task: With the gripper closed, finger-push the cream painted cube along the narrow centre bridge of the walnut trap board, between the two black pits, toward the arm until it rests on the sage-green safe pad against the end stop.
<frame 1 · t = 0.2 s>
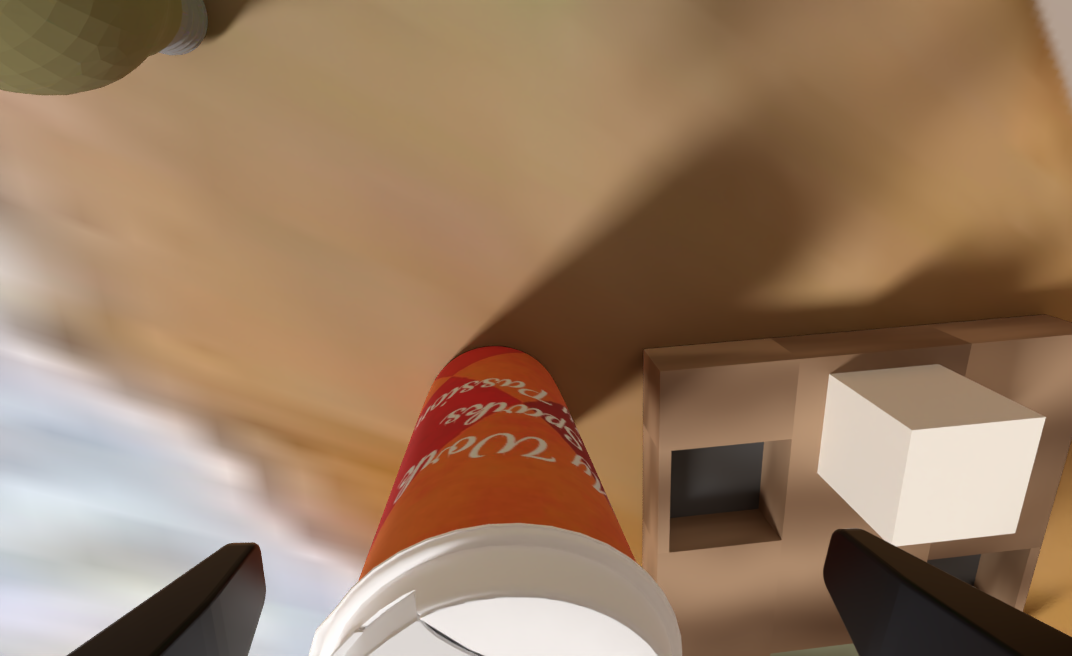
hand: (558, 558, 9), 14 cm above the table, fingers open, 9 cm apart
block: (876, 419, 23), point 2 cm above the table, touching trap board
light bulb: (183, 20, 19), on the table
trap board: (825, 516, 27), on the table
paper cup: (492, 403, 24), on the table
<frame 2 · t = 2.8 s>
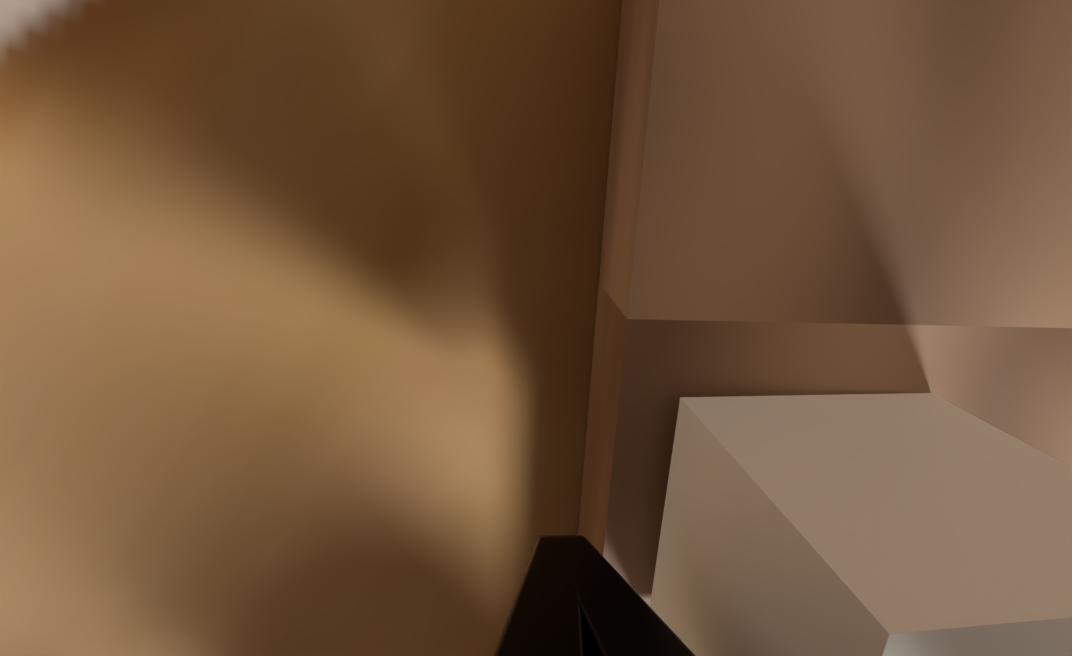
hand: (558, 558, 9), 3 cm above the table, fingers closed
block: (784, 510, 10), point 3 cm above the table, touching gripper, trap board
trap board: (993, 440, 13), on the table
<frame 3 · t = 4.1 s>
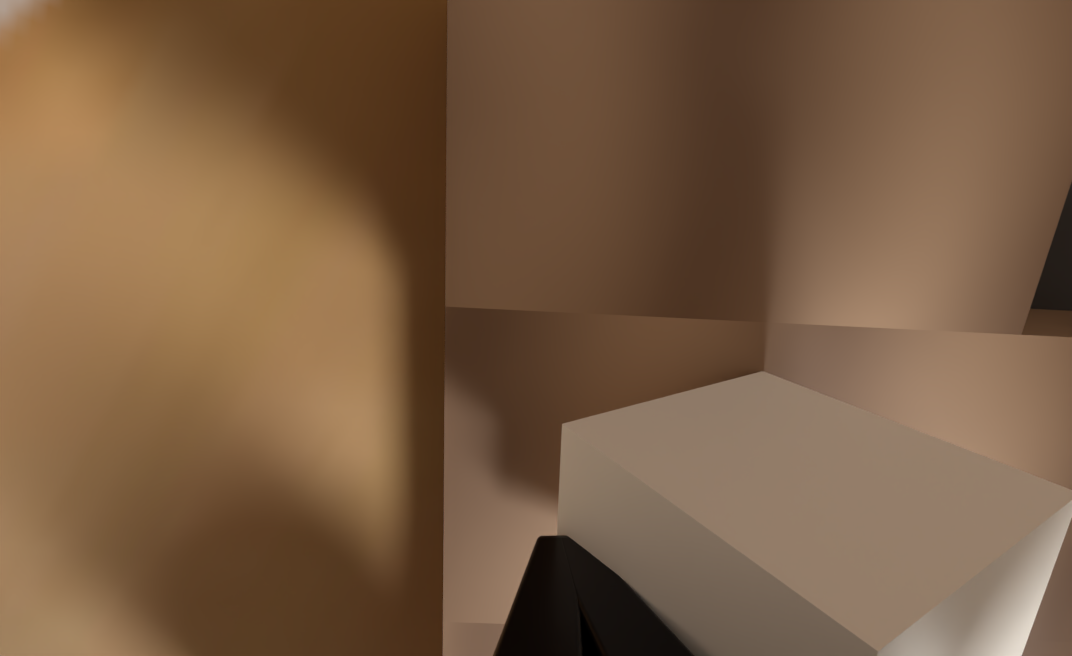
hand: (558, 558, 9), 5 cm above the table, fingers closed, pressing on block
block: (661, 511, 10), point 4 cm above the table, tilted 31°, touching gripper, trap board
trap board: (852, 439, 14), on the table
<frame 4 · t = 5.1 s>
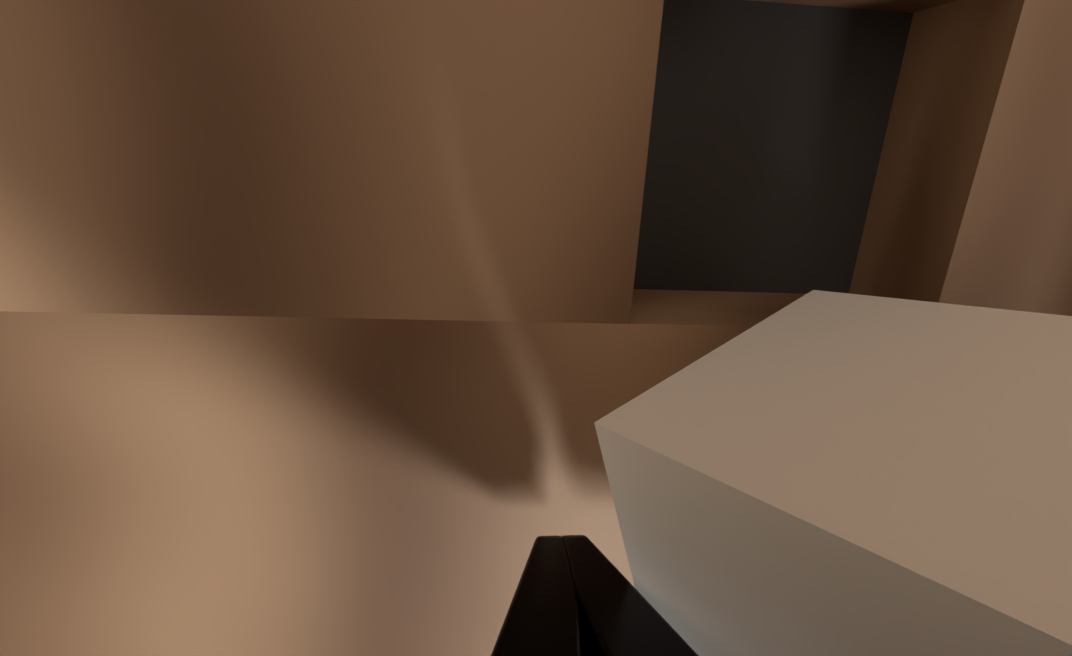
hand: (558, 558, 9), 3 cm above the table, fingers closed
block: (738, 482, 8), point 4 cm above the table, tilted 29°, touching gripper
trap board: (540, 444, 12), on the table
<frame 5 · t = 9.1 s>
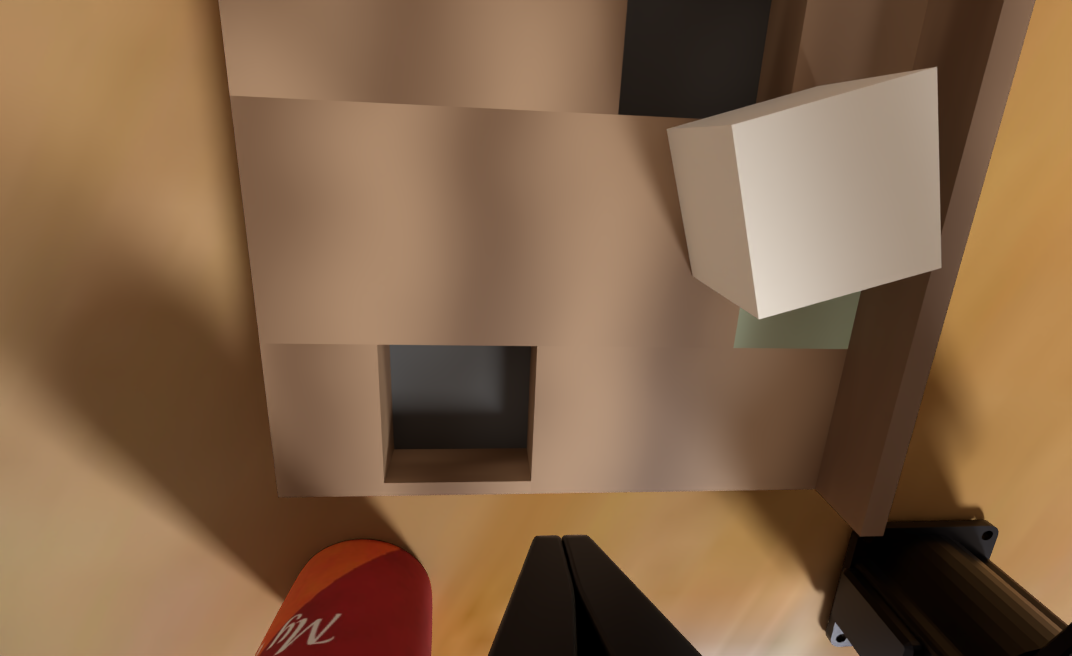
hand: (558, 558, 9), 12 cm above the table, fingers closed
block: (752, 185, 17), point 2 cm above the table, touching trap board
trap board: (564, 225, 19), on the table
paper cup: (365, 591, 23), on the table
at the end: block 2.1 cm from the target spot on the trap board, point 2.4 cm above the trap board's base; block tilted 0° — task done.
